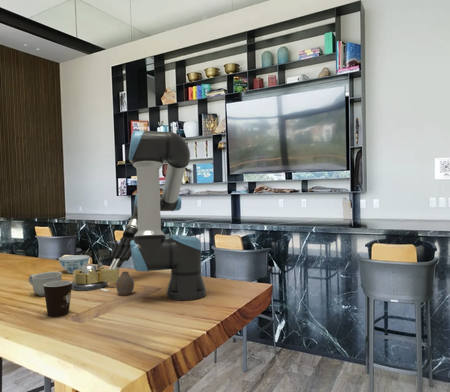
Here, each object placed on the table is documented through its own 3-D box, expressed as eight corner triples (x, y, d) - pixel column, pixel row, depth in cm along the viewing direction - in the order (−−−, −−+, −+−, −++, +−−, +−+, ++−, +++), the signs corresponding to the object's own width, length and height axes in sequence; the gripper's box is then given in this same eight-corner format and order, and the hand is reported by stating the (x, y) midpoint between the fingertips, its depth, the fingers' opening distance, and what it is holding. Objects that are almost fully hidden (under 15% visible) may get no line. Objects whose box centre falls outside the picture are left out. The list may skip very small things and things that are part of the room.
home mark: (109, 291, 146) (109, 290, 146) (106, 291, 145) (106, 291, 145) (102, 289, 149) (102, 288, 149) (99, 289, 148) (99, 289, 148)
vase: (129, 296, 137) (128, 274, 137) (112, 296, 139) (112, 273, 139) (137, 292, 144) (136, 270, 144) (121, 291, 145) (121, 270, 146)
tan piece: (68, 283, 150) (68, 270, 150) (85, 277, 162) (84, 265, 162) (110, 284, 146) (110, 272, 146) (124, 278, 158) (124, 266, 158)
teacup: (67, 292, 146) (67, 272, 146) (44, 299, 136) (44, 278, 136) (44, 288, 151) (44, 270, 152) (20, 295, 142) (20, 275, 142)
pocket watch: (82, 279, 169) (81, 258, 169) (94, 275, 177) (94, 255, 177) (95, 280, 166) (95, 259, 166) (107, 276, 174) (107, 256, 174)
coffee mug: (53, 319, 112) (53, 288, 112) (38, 315, 116) (38, 284, 116) (85, 309, 121) (85, 280, 122) (70, 306, 126) (70, 277, 126)
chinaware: (69, 269, 195) (69, 254, 195) (95, 269, 193) (94, 255, 193) (52, 274, 180) (52, 259, 180) (80, 275, 178) (79, 259, 178)
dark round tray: (104, 289, 148) (104, 268, 148) (66, 291, 146) (66, 269, 146) (110, 281, 163) (110, 262, 163) (75, 283, 161) (75, 263, 161)
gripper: (149, 235, 171) (129, 278, 155) (124, 235, 176) (102, 276, 160) (142, 225, 166) (121, 269, 150) (117, 225, 171) (94, 267, 155)
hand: (111, 272), depth 155 cm, fingers closed
